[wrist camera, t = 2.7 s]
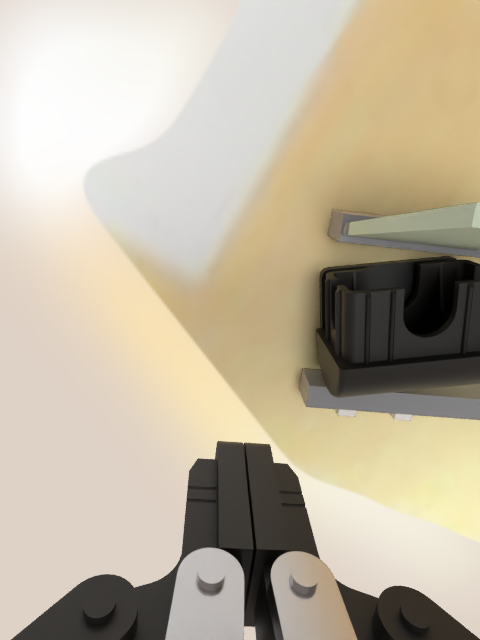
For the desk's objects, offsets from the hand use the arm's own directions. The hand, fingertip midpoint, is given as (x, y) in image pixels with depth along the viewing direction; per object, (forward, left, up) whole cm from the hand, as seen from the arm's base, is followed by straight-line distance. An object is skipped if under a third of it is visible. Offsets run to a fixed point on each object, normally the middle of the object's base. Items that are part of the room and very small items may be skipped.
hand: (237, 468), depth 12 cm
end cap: (0, +11, -17) cm, 20 cm away
